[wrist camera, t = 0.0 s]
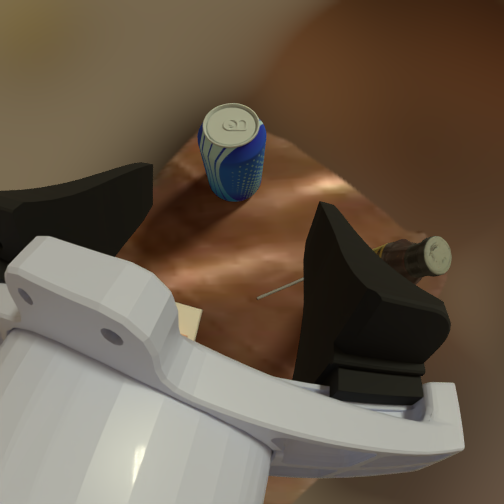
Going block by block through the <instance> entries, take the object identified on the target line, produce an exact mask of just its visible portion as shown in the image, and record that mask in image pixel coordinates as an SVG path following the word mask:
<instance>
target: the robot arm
mask: <svg viewBox="0 0 504 504" xmlns="http://www.w3.org/2000/svg"><path fill="white" fill-rule="evenodd" d="M152 205H153V164H148V163H142V162H141V163H134V164H129V165H125V166H122V167H119V168H115V169H112V170H109V171H106V172H102V173H99V174H96V175H92V176H89V177H86V178H82V179H79V180H75V181H71V182H67V183H63V184H58V185H52V186H47V187H42V188H34V189H25V190H10V191H0V504H263V502H264V496H265V491H266V486H267V480H268V476H278V477H295V478H344V477H362V476H374V475H385V474H393V473H394V474H395V473H404V472H412V471H417V470H419V469H422V468H425V467H427V466H429V465H432V464H434V463H437V462H439V461H441V460H444V459H445V458H448V457H450V456H452V455H454V454H456V453H459V452H460V451H463V449H464V448H465V447H464V437H463V430H462V423H461V415H460V409H459V404H458V398H457V393H456V388H455V384H454V383H443V382H442V383H441V382H429V383H426V384H423V385H422V382H421V376H423V375H424V374H425V367H424V362H425V361H426V360H427V359H428V358H429V357H430V356H431V355H432V354H433V353H434V352H435V351H436V350H437V349H438V348H439V347H440V346H441V345H442V344H443V342H444V341H445V340H446V338H447V336H448V334H449V332H450V326H451V323H450V319H449V316H448V314H447V311H446V308H445V305H444V302H443V301H441V300H440V299H438V298H436V297H434V296H433V295H431V294H429V293H428V292H426V291H424V290H422V289H421V288H419V287H418V286H416V285H415V284H413V283H412V282H410V281H409V280H407V279H406V278H405V277H403V276H402V275H401V274H399V273H398V272H397V271H396V270H394V269H393V268H392V267H391V266H389V265H388V264H387V263H386V262H385V261H383V260H382V259H381V258H380V257H379V256H378V255H377V254H376V253H375V252H374V251H373V250H372V249H371V248H370V247H369V246H368V245H367V244H366V243H365V242H364V240H363V239H362V238H361V237H360V236H359V235H358V234H357V232H356V231H355V230H354V229H353V228H352V226H351V225H350V224H349V223H348V221H347V220H346V219H345V218H344V216H343V215H342V214H341V213H340V211H339V210H338V209H337V208H336V207H335V206H334V205H332V204H328V203H325V202H321V201H319V204H318V207H317V210H316V213H315V216H314V219H313V222H312V225H311V228H310V231H309V234H308V237H307V240H306V244H305V252H304V309H303V319H302V327H301V334H300V341H299V347H298V353H297V359H296V364H295V369H294V374H293V379H292V380H288V379H283V378H278V377H273V376H271V375H268V374H266V373H263V372H261V371H259V370H256V369H254V368H251V367H249V366H247V365H244V364H242V363H240V362H238V361H235V360H233V359H231V358H229V357H227V356H224V355H222V354H220V353H218V352H216V351H214V350H211V349H209V348H207V347H205V346H203V345H201V344H199V343H197V342H195V341H193V340H191V339H189V338H187V337H185V336H183V335H181V334H180V330H179V319H178V309H177V306H176V303H175V301H174V298H173V295H172V293H171V291H170V290H169V289H168V288H167V287H166V286H165V285H164V284H163V283H162V282H161V281H160V280H159V279H158V278H157V277H156V275H155V274H154V273H152V272H150V271H148V270H146V269H144V268H142V267H140V266H138V265H136V264H134V263H133V262H130V261H126V260H123V259H120V258H116V257H115V256H116V254H117V253H118V252H119V251H120V249H121V248H122V247H123V245H124V244H125V243H126V242H127V240H128V239H129V238H130V237H131V235H132V234H133V233H134V232H135V231H136V229H137V228H138V227H139V226H140V224H141V223H142V222H143V220H144V219H145V217H146V215H147V214H148V212H149V210H150V209H151V207H152Z"/></svg>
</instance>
